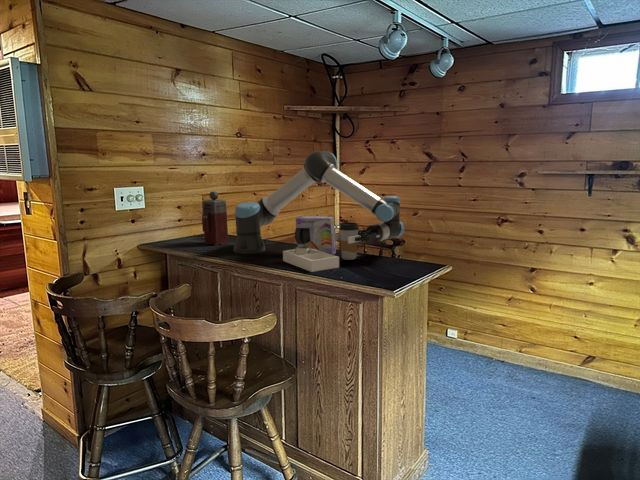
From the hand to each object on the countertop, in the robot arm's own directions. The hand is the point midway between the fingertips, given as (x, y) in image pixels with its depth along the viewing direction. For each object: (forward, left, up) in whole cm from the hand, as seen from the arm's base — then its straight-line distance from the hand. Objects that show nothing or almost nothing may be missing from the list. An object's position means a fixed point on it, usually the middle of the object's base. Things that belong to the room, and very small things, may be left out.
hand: (341, 238), depth 202 cm
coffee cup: (-1, +5, -9) cm, 10 cm away
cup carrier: (-7, -11, -11) cm, 17 cm away
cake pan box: (-24, +1, -11) cm, 26 cm away
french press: (-79, -28, -11) cm, 84 cm away
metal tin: (-13, -11, -10) cm, 20 cm away
